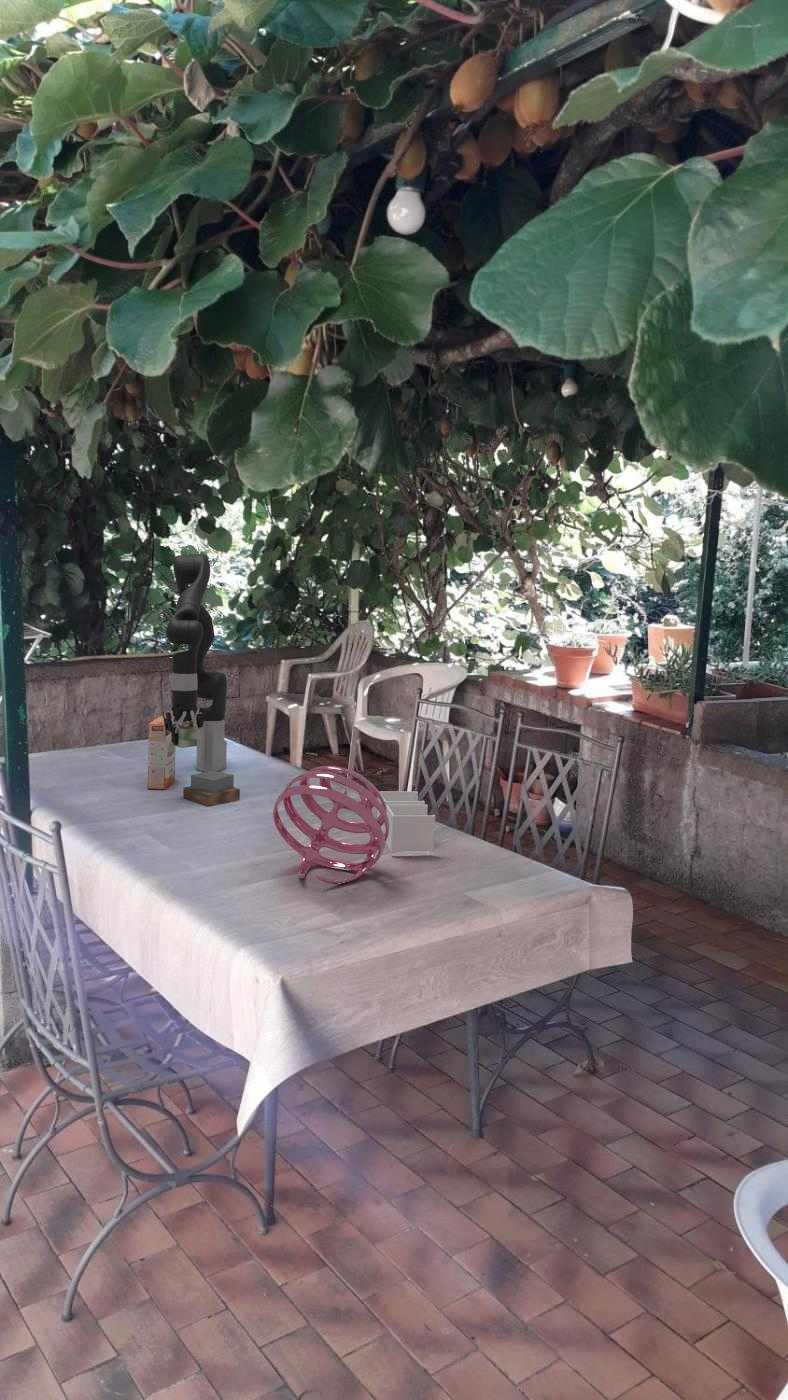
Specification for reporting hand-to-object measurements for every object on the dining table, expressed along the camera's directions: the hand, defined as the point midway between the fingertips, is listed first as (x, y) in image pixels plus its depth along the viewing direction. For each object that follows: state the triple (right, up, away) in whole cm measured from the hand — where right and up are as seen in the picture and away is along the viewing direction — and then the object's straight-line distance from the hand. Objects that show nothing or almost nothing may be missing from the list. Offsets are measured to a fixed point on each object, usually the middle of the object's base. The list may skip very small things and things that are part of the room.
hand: (184, 743), depth 310 cm
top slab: (+8, -14, +4) cm, 16 cm away
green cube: (0, -1, 0) cm, 1 cm away
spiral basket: (+48, -29, -60) cm, 82 cm away
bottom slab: (+7, -18, +4) cm, 20 cm away
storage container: (+65, -26, -31) cm, 77 cm away
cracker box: (-11, -14, +19) cm, 26 cm away
